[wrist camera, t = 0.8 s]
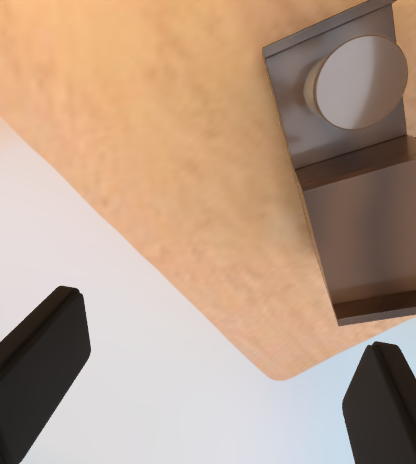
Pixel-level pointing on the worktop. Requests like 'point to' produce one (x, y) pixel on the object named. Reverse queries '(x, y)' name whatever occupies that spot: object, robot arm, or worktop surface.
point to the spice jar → (357, 82)
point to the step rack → (350, 176)
